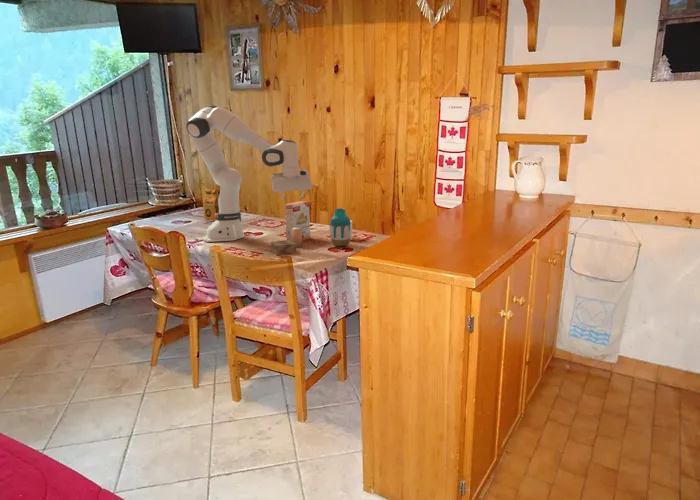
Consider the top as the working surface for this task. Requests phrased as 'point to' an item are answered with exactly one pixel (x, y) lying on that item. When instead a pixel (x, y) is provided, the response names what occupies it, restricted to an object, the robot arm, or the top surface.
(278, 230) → the top surface
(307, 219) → the cracker box
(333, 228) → the vase
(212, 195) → the coffee package
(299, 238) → the canister
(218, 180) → the robot arm
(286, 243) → the walnut block
